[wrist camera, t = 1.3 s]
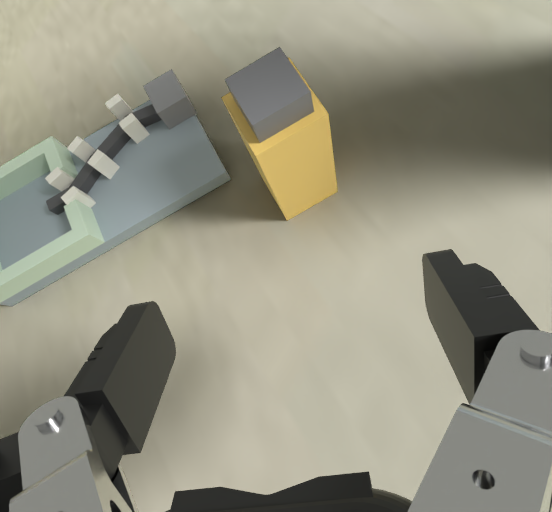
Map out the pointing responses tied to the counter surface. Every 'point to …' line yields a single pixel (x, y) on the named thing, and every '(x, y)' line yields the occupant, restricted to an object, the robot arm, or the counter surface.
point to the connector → (283, 131)
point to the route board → (101, 187)
